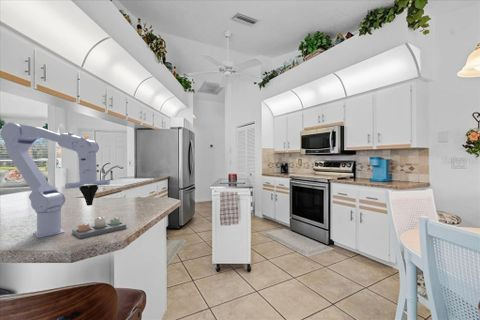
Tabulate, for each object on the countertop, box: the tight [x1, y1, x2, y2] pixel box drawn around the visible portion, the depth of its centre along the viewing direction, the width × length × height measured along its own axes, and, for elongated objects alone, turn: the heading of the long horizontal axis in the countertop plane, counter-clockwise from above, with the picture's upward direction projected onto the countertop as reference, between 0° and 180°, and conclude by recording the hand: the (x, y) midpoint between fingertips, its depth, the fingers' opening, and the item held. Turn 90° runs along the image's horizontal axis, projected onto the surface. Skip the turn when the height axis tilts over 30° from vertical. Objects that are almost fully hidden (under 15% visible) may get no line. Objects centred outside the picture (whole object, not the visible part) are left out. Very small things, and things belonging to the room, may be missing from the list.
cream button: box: [94, 216, 106, 228], centre depth 91 cm, size 4×4×4 cm
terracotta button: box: [77, 223, 91, 233], centre depth 87 cm, size 4×4×4 cm
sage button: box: [109, 217, 121, 226], centre depth 95 cm, size 4×4×4 cm
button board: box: [71, 221, 127, 239], centre depth 91 cm, size 10×16×2 cm, turn 139°
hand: (89, 205), depth 90 cm, fingers closed
